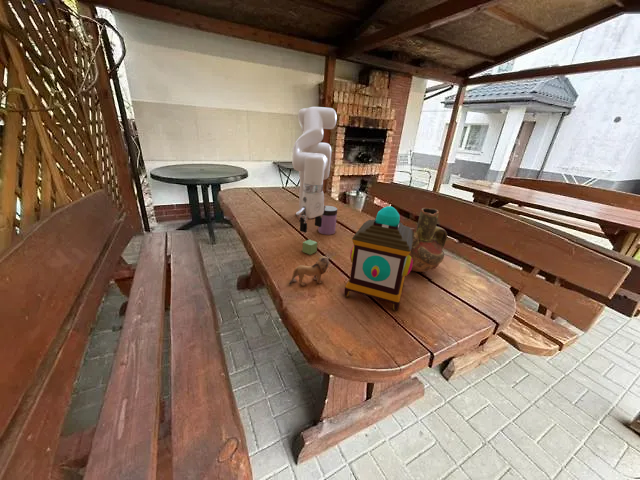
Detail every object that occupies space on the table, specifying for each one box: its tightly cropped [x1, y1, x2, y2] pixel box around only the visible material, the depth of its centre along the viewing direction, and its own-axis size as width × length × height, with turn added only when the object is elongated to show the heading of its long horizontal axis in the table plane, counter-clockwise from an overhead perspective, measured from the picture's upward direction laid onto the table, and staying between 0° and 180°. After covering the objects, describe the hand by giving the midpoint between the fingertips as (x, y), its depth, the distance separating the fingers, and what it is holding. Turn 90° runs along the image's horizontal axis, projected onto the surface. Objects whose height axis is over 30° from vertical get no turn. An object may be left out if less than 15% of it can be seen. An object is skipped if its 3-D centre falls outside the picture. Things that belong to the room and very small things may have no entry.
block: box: [301, 239, 318, 256], centre depth 113 cm, size 4×4×4 cm
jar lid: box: [323, 205, 338, 216], centre depth 133 cm, size 9×9×2 cm
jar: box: [317, 213, 338, 236], centre depth 135 cm, size 9×9×12 cm
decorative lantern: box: [343, 205, 414, 312], centre depth 84 cm, size 20×20×30 cm
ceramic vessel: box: [409, 207, 448, 273], centre depth 101 cm, size 17×26×25 cm, turn 117°
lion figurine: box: [288, 255, 330, 287], centre depth 90 cm, size 15×5×9 cm, turn 116°
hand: (310, 228), depth 109 cm, fingers open, 9 cm apart
